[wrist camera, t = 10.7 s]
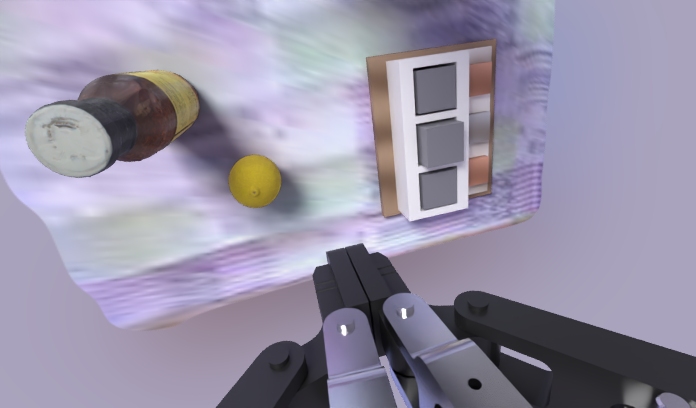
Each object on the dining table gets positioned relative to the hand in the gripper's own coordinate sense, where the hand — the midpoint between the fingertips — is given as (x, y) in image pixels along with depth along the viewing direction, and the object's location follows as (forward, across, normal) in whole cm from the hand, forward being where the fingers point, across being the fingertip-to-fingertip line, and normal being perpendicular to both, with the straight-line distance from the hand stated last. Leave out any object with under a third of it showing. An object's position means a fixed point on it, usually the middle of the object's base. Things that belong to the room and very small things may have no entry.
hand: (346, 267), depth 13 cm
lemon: (+29, +5, +3) cm, 30 cm away
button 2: (+26, -16, +2) cm, 31 cm away
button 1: (+28, -16, -3) cm, 32 cm away
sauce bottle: (+29, +12, -6) cm, 32 cm away
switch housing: (+29, -16, +2) cm, 33 cm away
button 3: (+28, -16, +8) cm, 33 cm away
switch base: (+29, -18, +2) cm, 34 cm away
